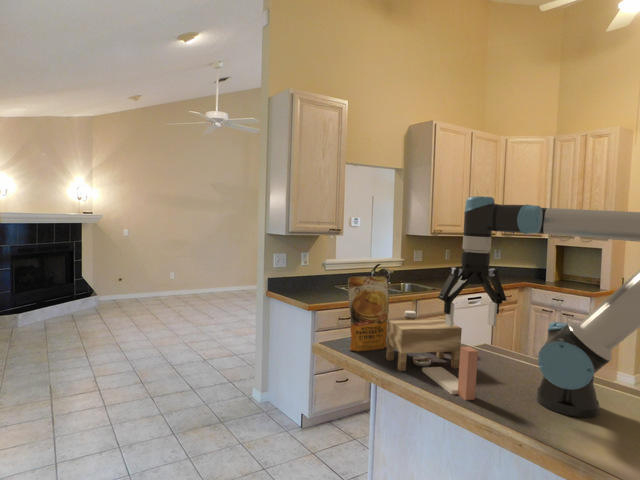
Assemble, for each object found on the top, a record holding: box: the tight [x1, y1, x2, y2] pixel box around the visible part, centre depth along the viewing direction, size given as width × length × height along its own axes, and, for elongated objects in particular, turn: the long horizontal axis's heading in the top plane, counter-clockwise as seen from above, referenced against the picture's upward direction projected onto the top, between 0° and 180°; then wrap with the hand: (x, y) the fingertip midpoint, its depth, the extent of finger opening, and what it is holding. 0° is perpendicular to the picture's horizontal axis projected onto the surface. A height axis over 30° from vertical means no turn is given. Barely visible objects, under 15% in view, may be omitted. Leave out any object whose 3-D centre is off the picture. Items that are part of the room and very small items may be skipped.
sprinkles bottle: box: [404, 310, 417, 320], centre depth 165 cm, size 5×5×14 cm
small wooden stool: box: [385, 318, 463, 372], centre depth 144 cm, size 12×22×14 cm, turn 103°
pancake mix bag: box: [347, 275, 390, 352], centre depth 158 cm, size 7×19×28 cm, turn 112°
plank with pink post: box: [421, 346, 479, 401], centre depth 126 cm, size 22×7×14 cm, turn 13°
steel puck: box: [412, 355, 432, 368], centre depth 144 cm, size 6×6×2 cm
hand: (470, 325), depth 117 cm, fingers open, 13 cm apart
